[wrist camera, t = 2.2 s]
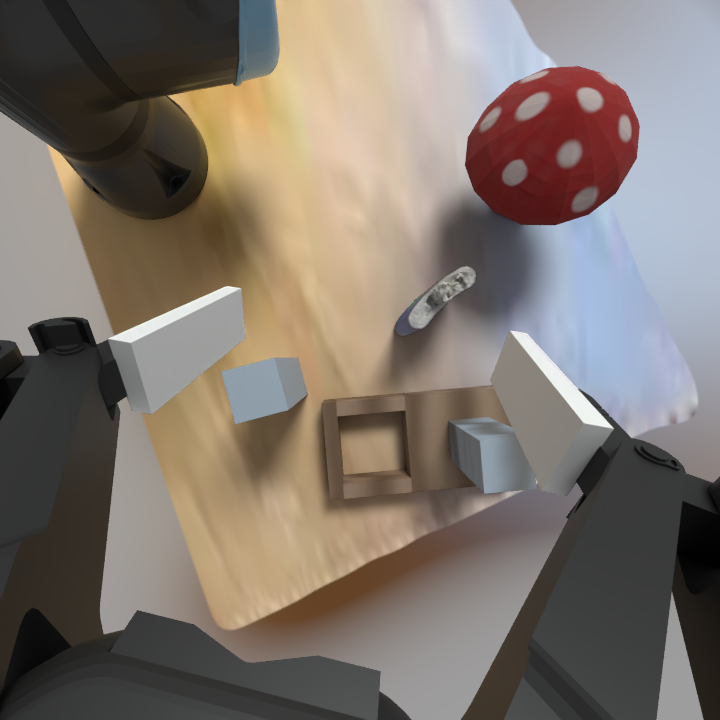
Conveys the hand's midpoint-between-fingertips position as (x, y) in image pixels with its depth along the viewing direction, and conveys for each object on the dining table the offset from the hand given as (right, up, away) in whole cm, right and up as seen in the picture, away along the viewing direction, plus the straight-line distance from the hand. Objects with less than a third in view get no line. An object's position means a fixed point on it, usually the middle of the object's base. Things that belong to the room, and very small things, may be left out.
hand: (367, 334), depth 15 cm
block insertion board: (+7, -12, +25) cm, 28 cm away
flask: (+8, +5, +25) cm, 27 cm away
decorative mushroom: (+19, +20, +25) cm, 38 cm away
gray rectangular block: (-10, -4, +24) cm, 27 cm away
